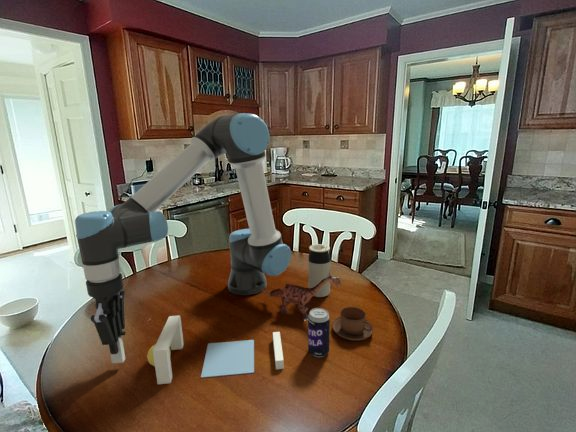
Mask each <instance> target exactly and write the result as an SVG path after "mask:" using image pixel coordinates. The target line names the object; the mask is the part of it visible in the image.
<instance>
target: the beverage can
mask: <svg viewBox="0 0 576 432" xmlns="http://www.w3.org/2000/svg"><path fill="white" fill-rule="evenodd" d="M307 315H308V319H307V331H308V332H307V339H308V340H307V350H308V352H309V353H310V354H311V355H312V356H313V357H315V358H323V357H325V356H327V355H328V354H329V352H330V331H331V330H330V328H331V327H330V322H331V320H330V319H331V318H330V315H329V311H328V310H327V309H325V308H322V307H314V308H312V309H310V311H309V314H307Z"/></svg>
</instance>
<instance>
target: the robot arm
mask: <svg viewBox="0 0 576 432" xmlns="http://www.w3.org/2000/svg"><path fill="white" fill-rule="evenodd" d="M270 137H271V136H270V132H269V128H268V126H267V123H266V122H265V120H263V118H261V117H260V116H258V115H257V114H254V113H245V112H242V113H241V112H240V113H236V114H231V115H230V114H229V115H221V116H218V117H216V118H214V119H213V120H210V122H209V123H207V124H205V126H204V127H203V128H201V129H200V130H199V131H198V132H196V134H195V135H194V136H193V137H191V139H190V144H189V145H188V146H186V147H185V148H184V149H183V150H182V151H181V152H180V153H179V154H178V155H176V156H175V157H174V158H173V159H172V160H171V161H169V163H167V164H166V165H165V166H164V167H162V169H161V170H159V171H158V172H157V173H155V175H154V176H153V177H152V178H150V179H149V180H148V181H147V182H146V183H145V184H144V185H143V186H141V188H139V189H138V190H137V191H136V192H134V194H133V195H131V196H130V197H129V198H128V199H126V200H125V201H124V202H123V203H121V204H116V205H114V206H113V207H111V208H110V209H109V210H98V211H97V210H96V211H88V212H84V213H80V214H79V215H77V216H76V217H75V220H74V225H75V232H76V234H75V237H76V239H77V245H78V249H79V254H80V259H81V263H82V265H81V267H82V269H83V273H84V279H85V280H86V281H85V285H86V291H87V295H88V296H89V297H90V298H93V299H94V300H95V309H96V312H95V314H93V315H91V316H90V321H91V322H92V324H94V327H95V329H96V332H97V334H98V337H99V339H100V341H101V342H100V343H101V344H102V346H108V348H109V353H110V360H111V364H122V363H124V362H125V361H126V355H125V354H126V353H125V349H124V348H125V347H124V341H123V337H122V336H125V335H126V333H127V332H126V331H123V330H125V329H126V322H125V321H126V320H125V318H126V317H125V291H124V287H125V286H124V281H123V280H124V279H123V275H122V266H121V262H120V254H119V250H121V249H124V248H125V249H126V248H129V247H135V246H138V245H142V244H148V243H154V242H157V241H159V240H160V241H161V240H163V239H165V238H166V237H167V235H168V231H169V226H168V221H167V218H166V216H165V214H163V212H162V211H159V210H158V209H160V208H161V206H163V204H165V202H167V201H168V200H169V199H170V198H171V197H172V196H173V195H174V194H175V193H177V192H178V190H180V189H181V188H182V187H183V186H184V185H186V183H187V182H188V181H189V180H190V179H191V178H192V177H194V176H195V175H196V174H197V173H198V172H199V171H200V170H201V169H202V168H203V167H204V166H205V165H207V163H209V162H211V163H212V162H215V160H216V159H218V158H219V157H220V156H222V155H225V154H226V156H227V160H228V164H229V165H232V166H233V168H235V172H236V176H237V182H238V186H239V189H240V194H241V198H242V199H241V200H242V203H243V207H244V211H245V216H246V220H247V224H248V228H243V229H242V228H241V229H237V230H235V231H232V232H231V233H230V234H229V237H228V238H229V239H228V240H229V241H228V244H229V253H230V254H229V256H230V268H231V269H230V273H229V277H228V281H227V289H228V292H230V293H231V294H234V295H236V296H251V295H252V296H253V295H256V294H259V293H261V292H264V291H263V290H266V288H267V284H268V283H267V278H266V276H265V275H268V276H270V277H275V276H279V275H281V274H282V273H284V272H285V271H286V270H287V268H288V266H289V264H290V263H291V258H292V250H291V248H290V246H289V245H287V244H285V243H283V239H282V234H281V232H280V231H279V230H278V229H276V226H275V221H274V216H273V210H272V206H271V201H270V195H269V191H268V184H267V181H266V175H265V170H264V166H263V165H264V164H263V161H264V160H265V158H266V150H267V148H268V146H269V144H270ZM262 289H263V290H262Z"/></svg>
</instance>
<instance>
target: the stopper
mask: <svg viewBox="0 0 576 432" xmlns="http://www.w3.org/2000/svg"><path fill="white" fill-rule="evenodd" d="M272 343H273V352H274V354H273V355H274V362H275V363H274V364H275V370H284V369H285V363H284V362H285V361H284V353H283V346H282V339H281V332H280V331H273V332H272Z"/></svg>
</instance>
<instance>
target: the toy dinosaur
mask: <svg viewBox="0 0 576 432" xmlns="http://www.w3.org/2000/svg"><path fill="white" fill-rule="evenodd" d="M328 282H330V283H332V284H333V285H334V287H336V288H338V287H340V286H341V285H342V282H341V279H340V278H339V276H332V275H330V276H329V277H326V278H325V279H323V280H321V282H320V283H319V284H317V285H316V286H315V287H313V288H309V287H304V286H302V285H297V284H290V283H287V284H285V286H284V288H283V289H282V288H276V289H273V290H271V291H270V292H269V291H267V290H266V289H264V290H263V289H262V290H263V291H262V292H263V293H264V294H265V295H267V296H269V297H275V298H280V300H281V301H282V303H281V308H280V311H281V314H283V315H287V313H288V309H287V307H288V306H289V305H290V304H295V305H297V309H298V311H300V312H301V314H302V315H303V316H302V318H303V321H304V322H306V321H307V320H308V315H309V314H307V311H308V310H309V308H308V307H307V306H306V304H308V303H309V302H310V301H311V299H312V297H315V296H314V295H315V294H316V293H317V292H318V290H319V289H320V288H321V287H322V286H323V285H324V284H325V283H328Z"/></svg>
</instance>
